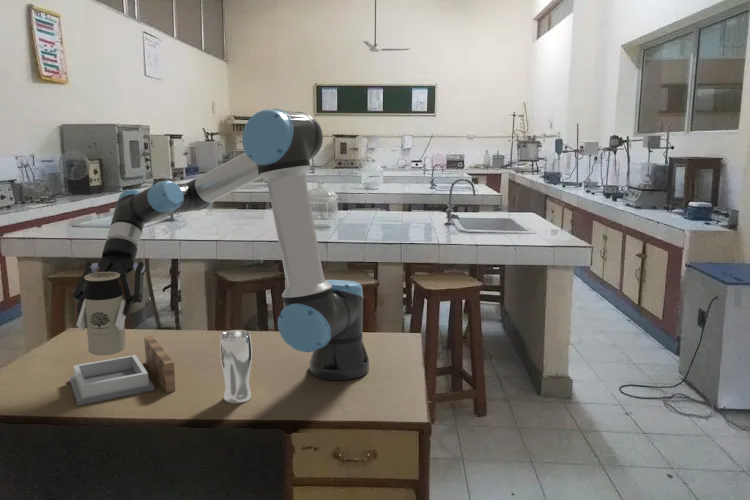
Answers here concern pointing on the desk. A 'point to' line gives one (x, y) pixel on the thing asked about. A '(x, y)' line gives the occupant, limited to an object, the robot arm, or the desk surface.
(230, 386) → the beer glass
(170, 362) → the door edge rail
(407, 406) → the desk surface
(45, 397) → the desk surface
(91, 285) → the travel mug
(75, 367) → the socket
